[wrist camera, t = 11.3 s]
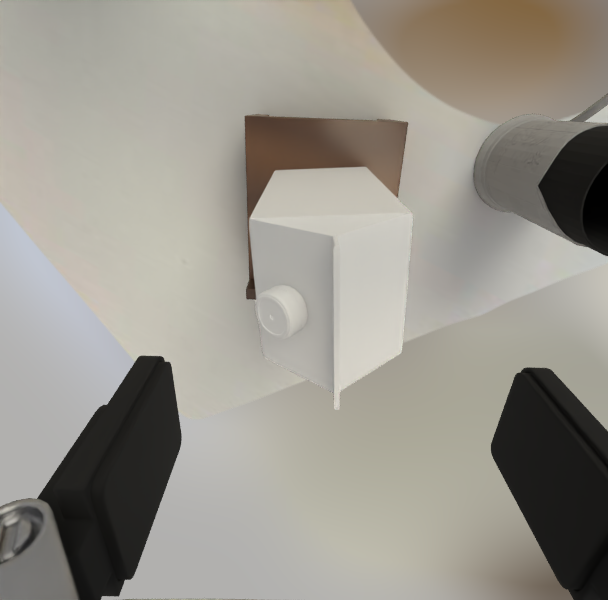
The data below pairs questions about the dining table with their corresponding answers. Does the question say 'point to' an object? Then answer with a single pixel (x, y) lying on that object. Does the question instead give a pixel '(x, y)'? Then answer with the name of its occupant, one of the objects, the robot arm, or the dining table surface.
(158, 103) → the dining table surface
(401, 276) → the milk carton
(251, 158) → the brown wooden box
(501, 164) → the glass holder
